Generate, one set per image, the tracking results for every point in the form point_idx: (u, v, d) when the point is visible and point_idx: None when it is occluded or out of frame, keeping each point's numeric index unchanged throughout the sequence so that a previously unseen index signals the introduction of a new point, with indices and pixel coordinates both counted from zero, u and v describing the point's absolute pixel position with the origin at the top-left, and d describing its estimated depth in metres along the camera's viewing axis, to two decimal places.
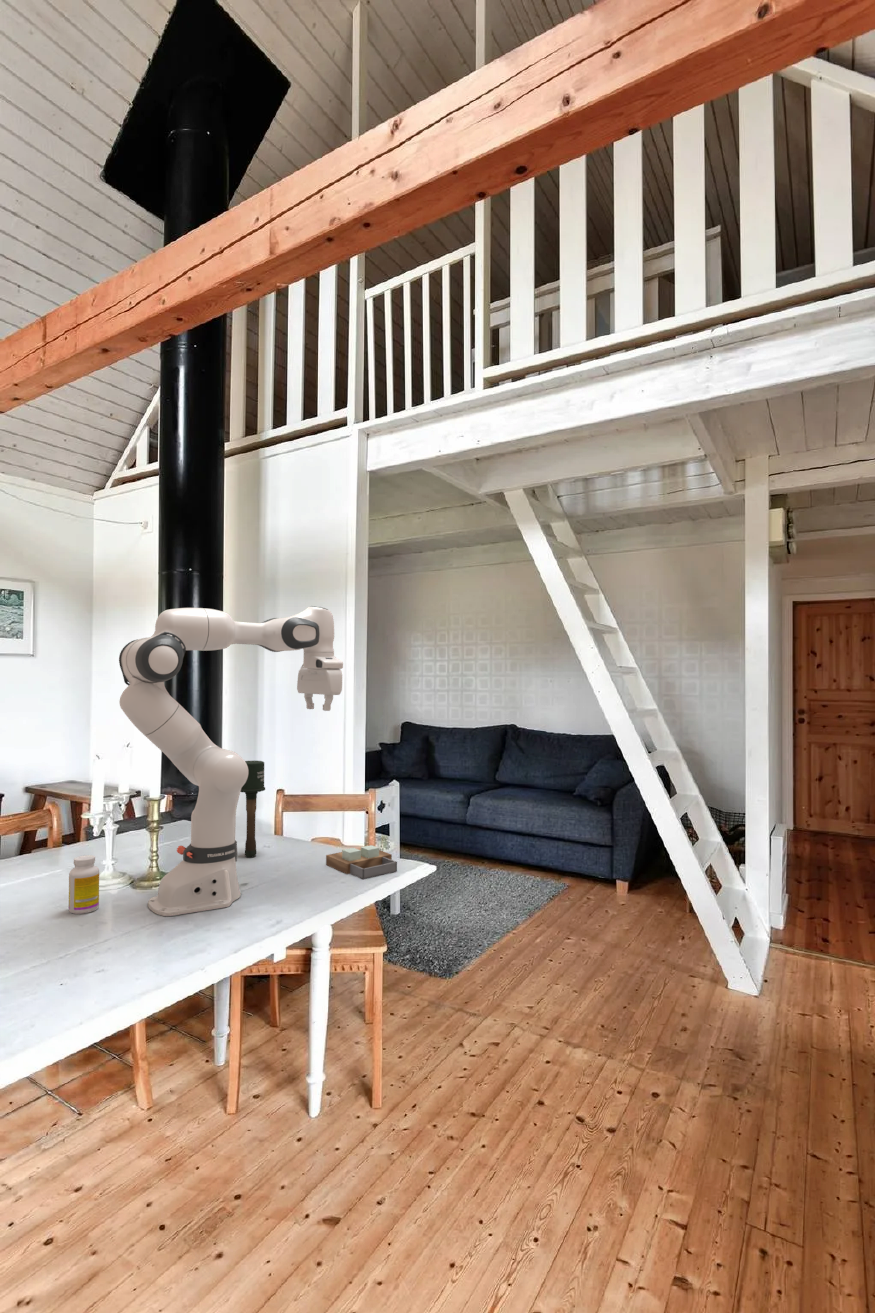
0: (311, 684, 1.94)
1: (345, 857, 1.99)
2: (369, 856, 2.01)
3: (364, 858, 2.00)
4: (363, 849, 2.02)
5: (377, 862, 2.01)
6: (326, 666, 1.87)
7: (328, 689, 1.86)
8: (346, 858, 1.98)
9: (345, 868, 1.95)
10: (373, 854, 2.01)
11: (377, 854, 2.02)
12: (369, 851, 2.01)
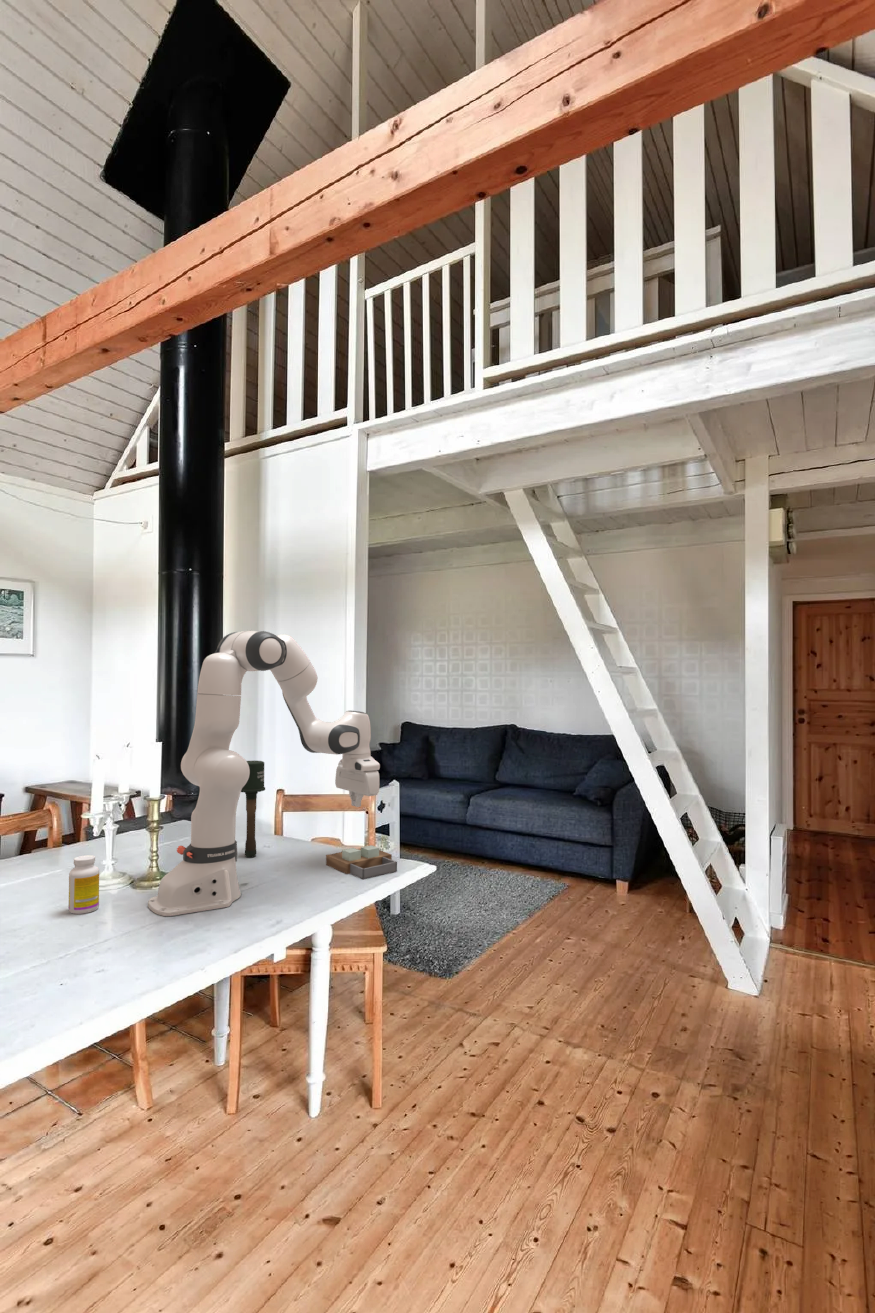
0: (350, 782, 2.09)
1: (345, 857, 1.99)
2: (369, 856, 2.01)
3: (364, 858, 2.00)
4: (363, 849, 2.02)
5: (377, 862, 2.01)
6: (365, 769, 2.02)
7: (367, 791, 2.02)
8: (346, 858, 1.98)
9: (345, 868, 1.95)
10: (373, 854, 2.01)
11: (377, 854, 2.02)
12: (369, 851, 2.01)
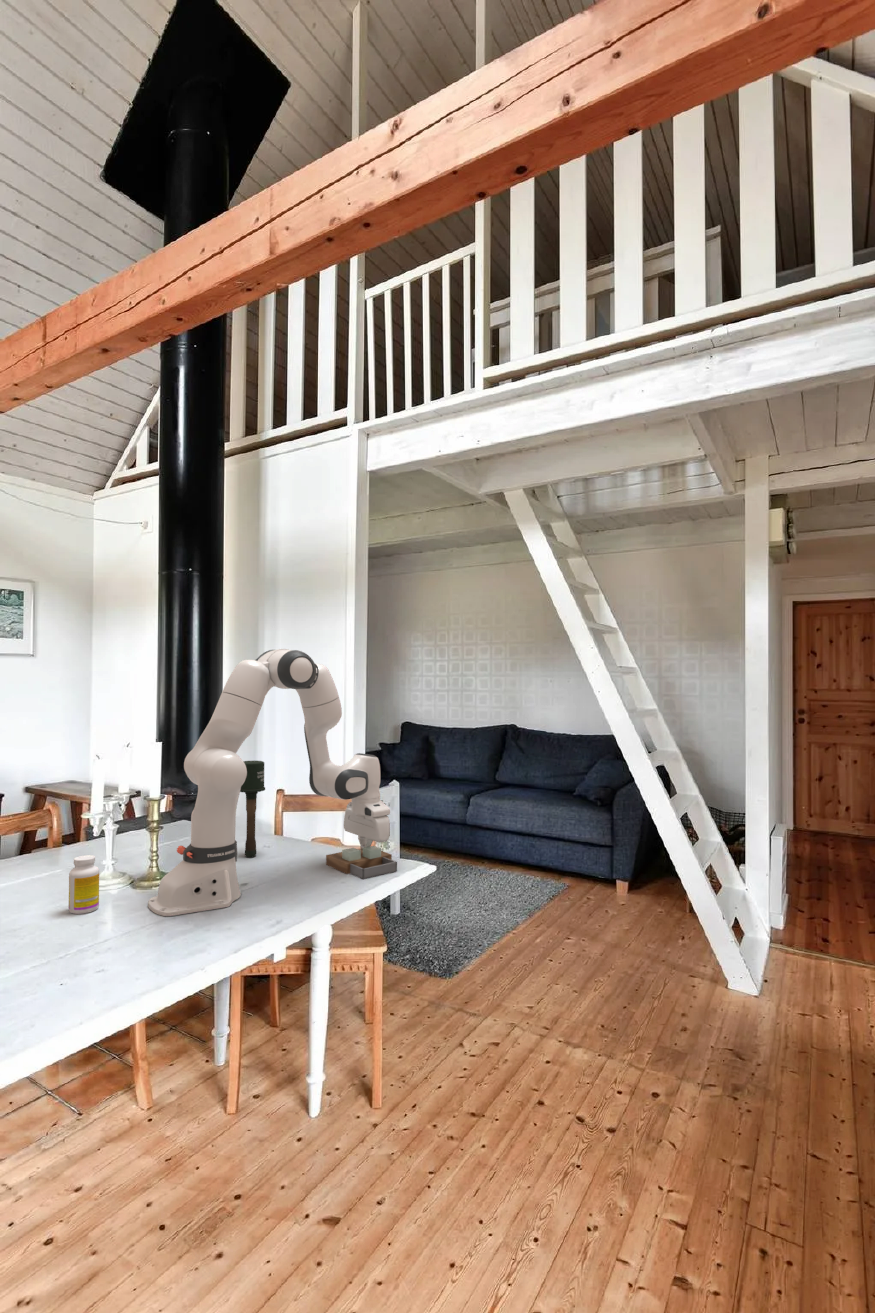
0: (359, 827, 2.05)
1: (345, 857, 1.99)
2: (371, 857, 2.00)
3: (364, 858, 2.00)
4: (365, 850, 2.02)
5: (377, 862, 2.01)
6: (375, 815, 1.97)
7: (377, 837, 1.97)
8: (346, 858, 1.98)
9: (345, 868, 1.95)
10: (375, 855, 2.01)
11: (379, 855, 2.02)
12: (371, 852, 2.00)
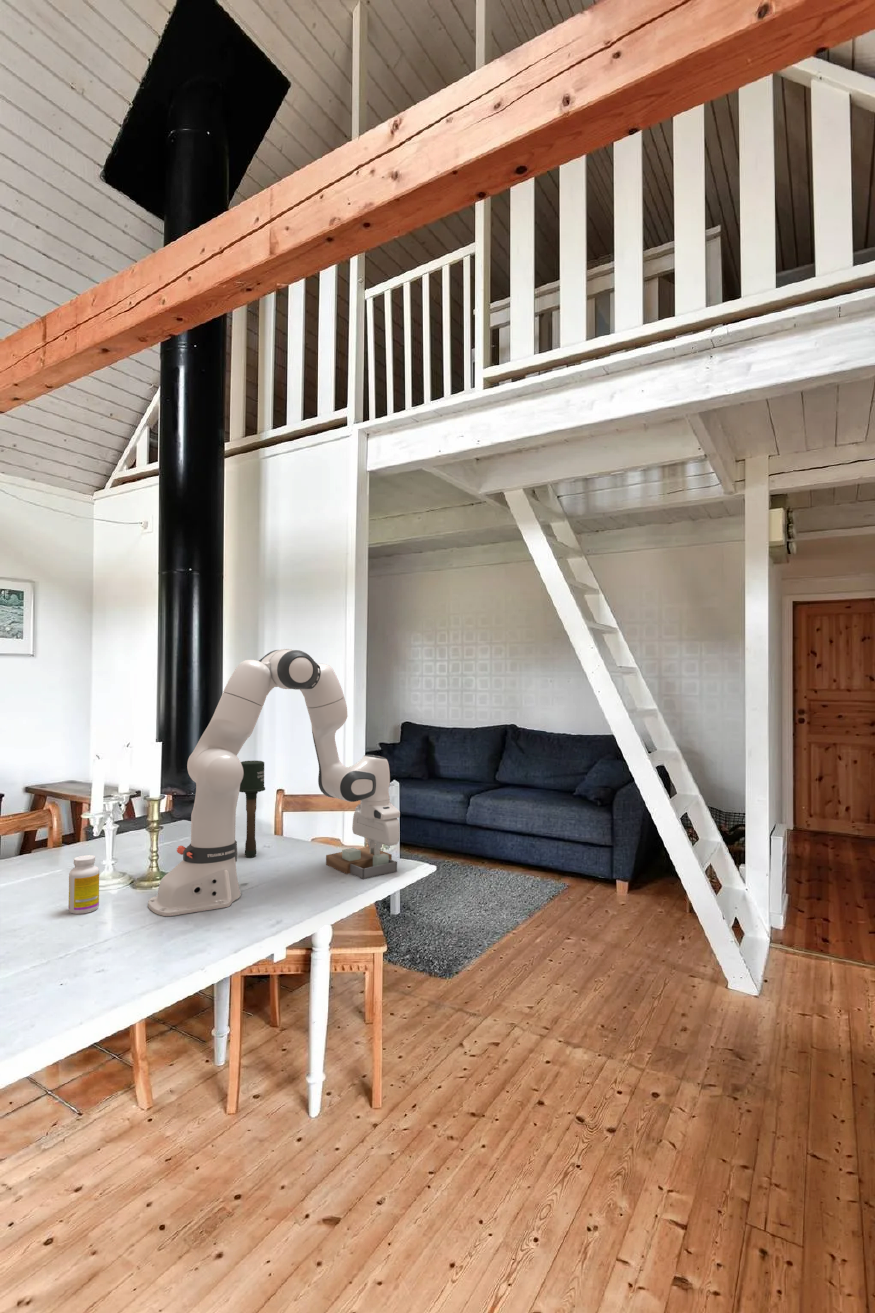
0: (368, 830, 2.01)
1: (345, 857, 1.99)
2: None
3: (364, 858, 2.00)
4: (377, 862, 1.97)
5: None
6: (384, 818, 1.93)
7: (387, 840, 1.93)
8: (346, 858, 1.98)
9: (345, 868, 1.95)
10: None
11: None
12: None
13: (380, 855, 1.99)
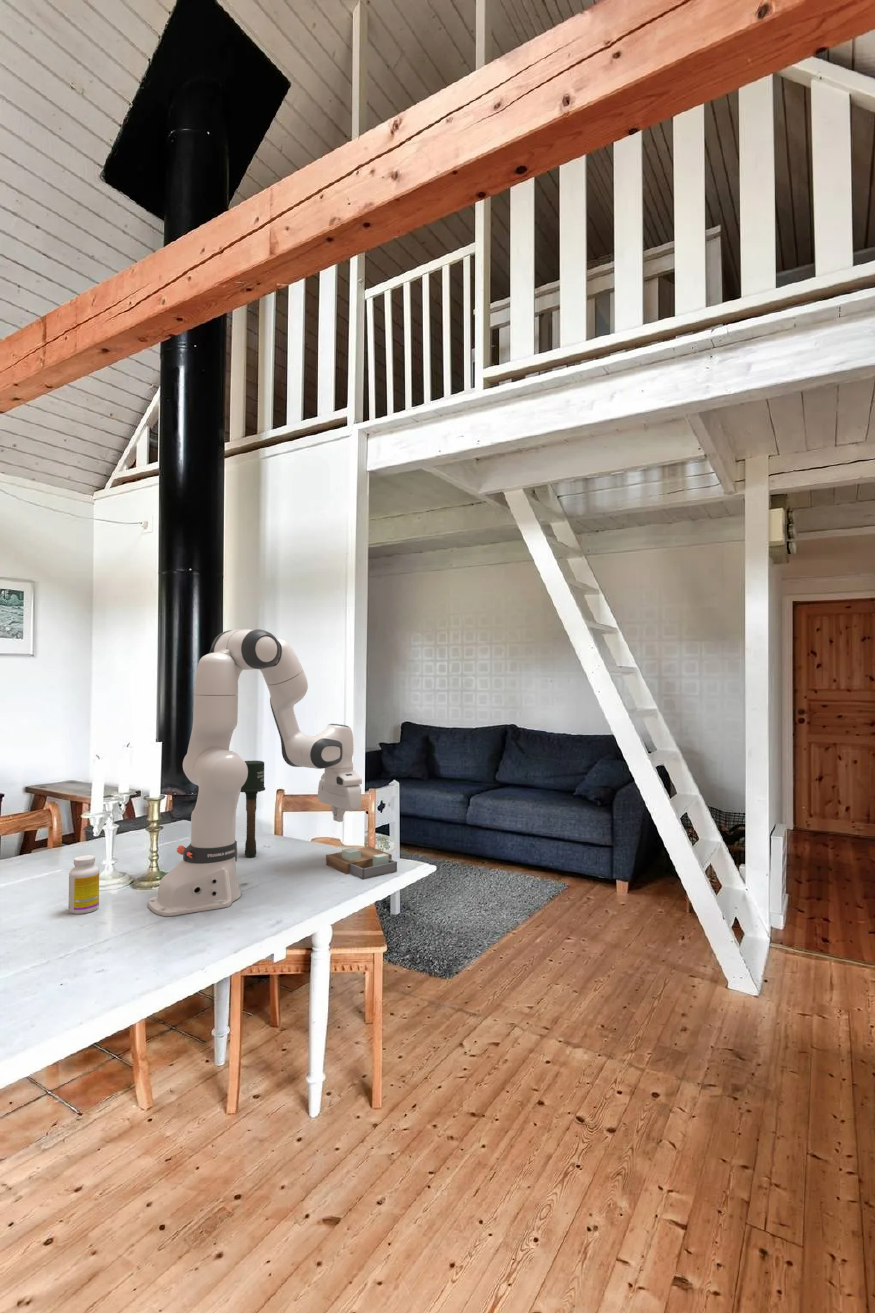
0: (332, 797, 2.06)
1: (345, 857, 1.99)
2: None
3: (364, 858, 2.00)
4: (377, 862, 1.97)
5: None
6: (346, 784, 1.98)
7: (348, 806, 1.98)
8: (346, 858, 1.98)
9: (345, 868, 1.95)
10: None
11: None
12: None
13: (380, 855, 1.99)
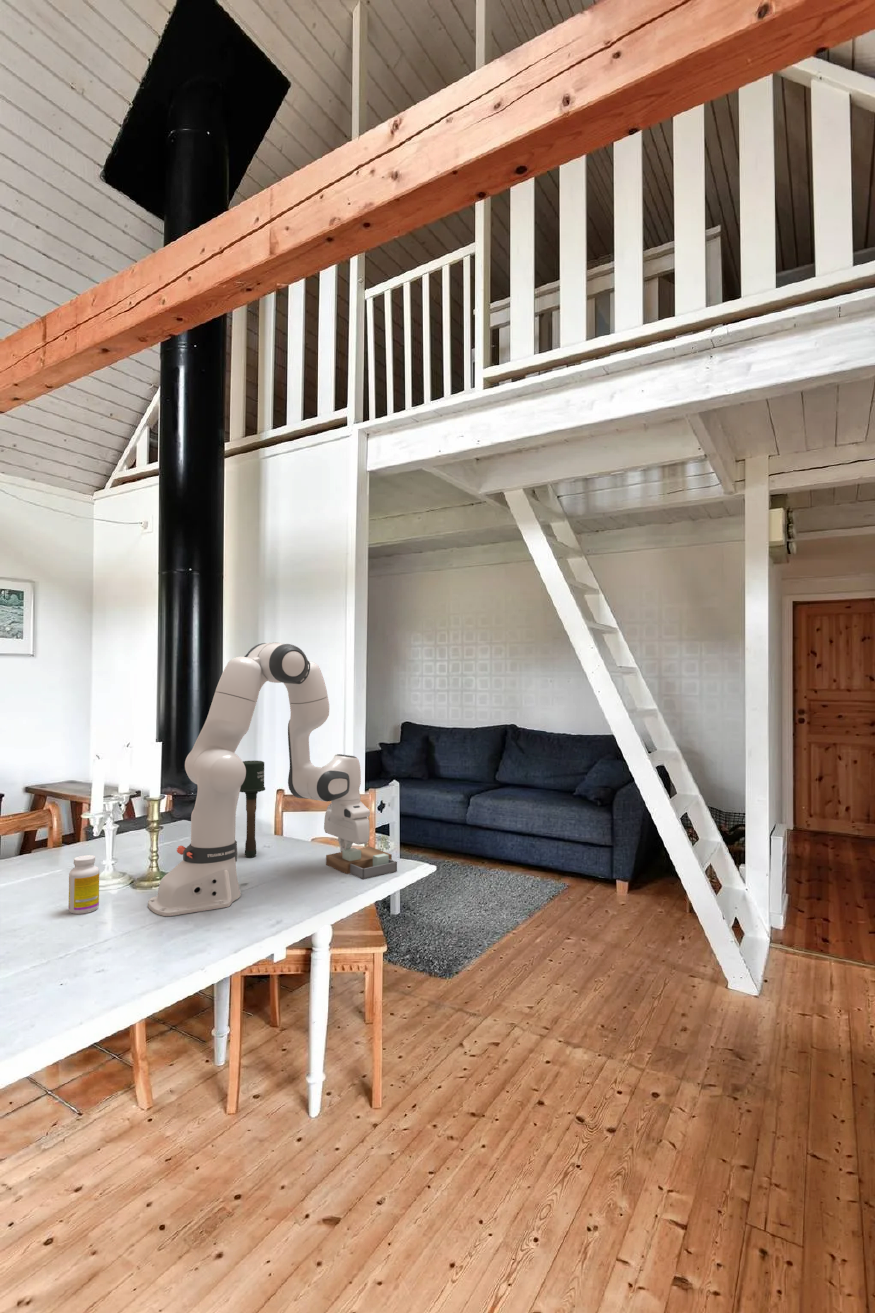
0: (339, 829, 2.02)
1: (345, 857, 1.99)
2: None
3: (364, 858, 2.00)
4: (377, 862, 1.97)
5: None
6: (354, 817, 1.95)
7: (356, 839, 1.95)
8: (346, 858, 1.98)
9: (345, 868, 1.95)
10: None
11: None
12: None
13: (380, 855, 1.99)
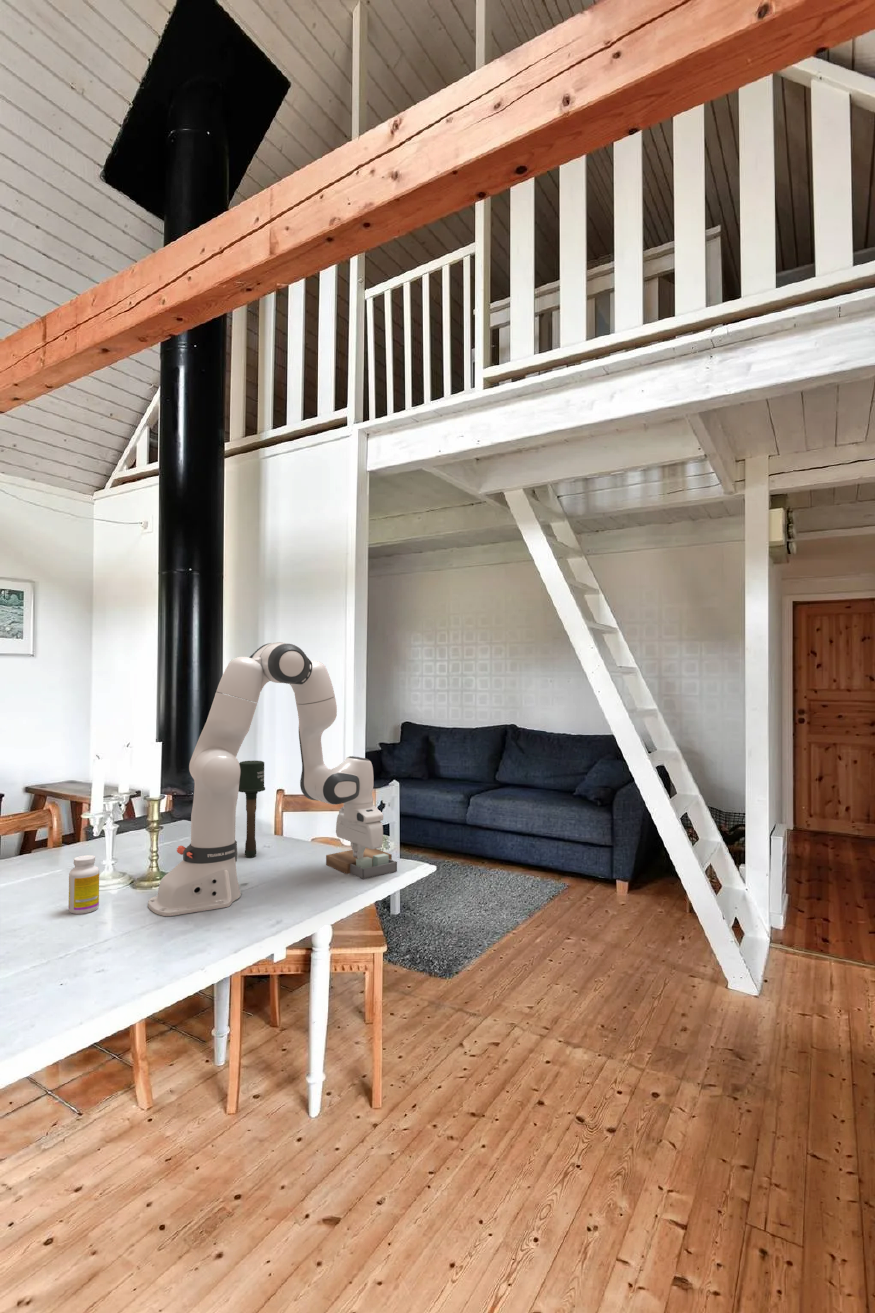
0: (351, 833, 1.97)
1: None
2: None
3: None
4: (377, 862, 1.97)
5: None
6: (367, 821, 1.89)
7: (370, 844, 1.89)
8: None
9: (345, 868, 1.95)
10: None
11: None
12: None
13: (380, 855, 1.99)
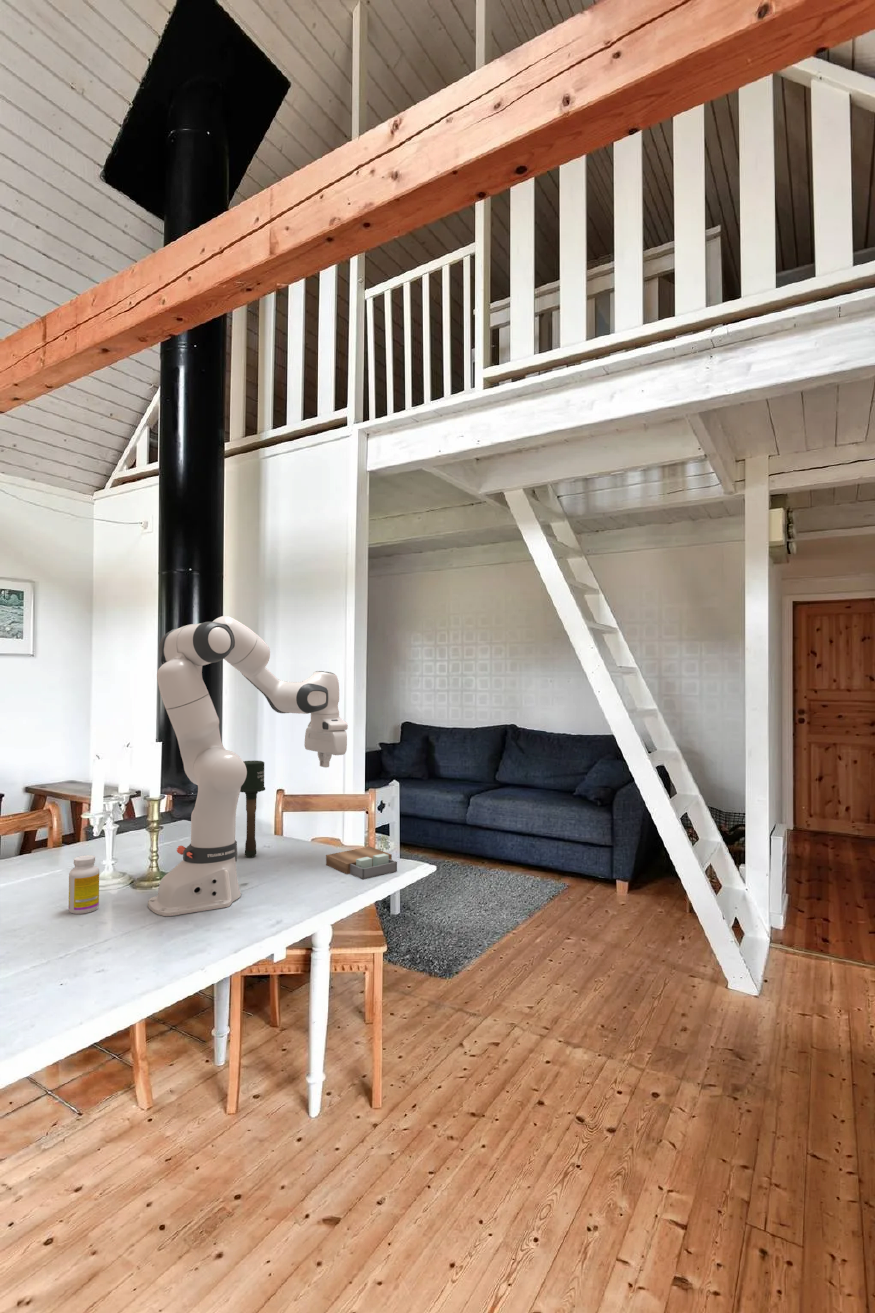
0: (318, 743, 2.09)
1: None
2: None
3: None
4: (377, 862, 1.97)
5: None
6: (332, 728, 2.01)
7: (334, 750, 2.01)
8: None
9: (345, 868, 1.95)
10: None
11: None
12: None
13: (380, 855, 1.99)
